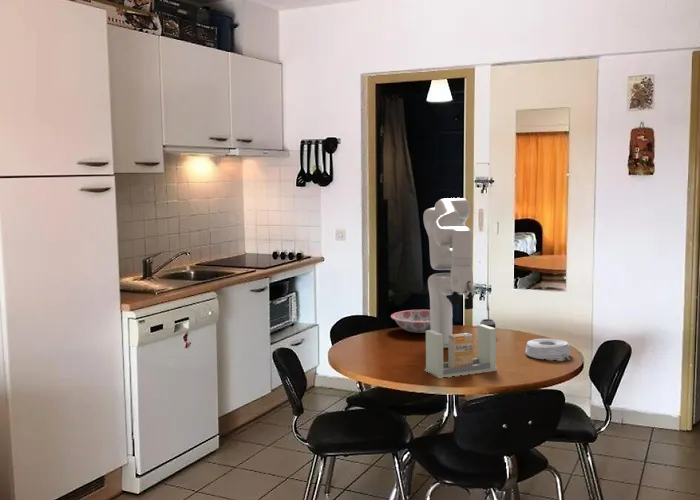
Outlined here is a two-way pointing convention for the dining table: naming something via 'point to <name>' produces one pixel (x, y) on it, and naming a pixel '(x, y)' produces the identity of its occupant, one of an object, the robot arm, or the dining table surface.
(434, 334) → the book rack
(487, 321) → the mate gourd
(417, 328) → the ceramic bowl
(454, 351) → the supplement box
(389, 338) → the dining table surface
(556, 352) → the cable
